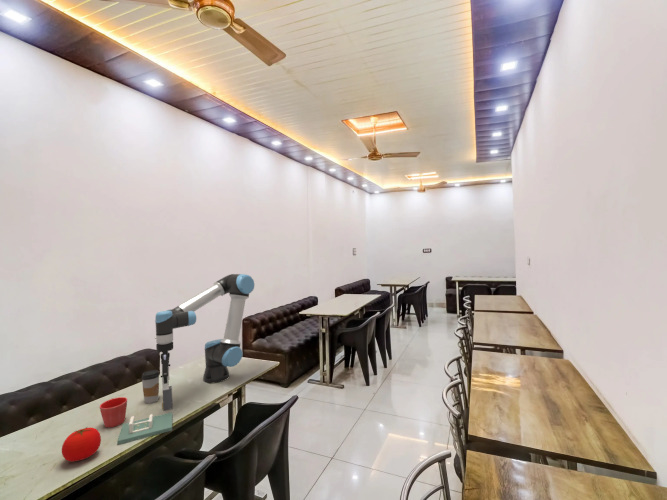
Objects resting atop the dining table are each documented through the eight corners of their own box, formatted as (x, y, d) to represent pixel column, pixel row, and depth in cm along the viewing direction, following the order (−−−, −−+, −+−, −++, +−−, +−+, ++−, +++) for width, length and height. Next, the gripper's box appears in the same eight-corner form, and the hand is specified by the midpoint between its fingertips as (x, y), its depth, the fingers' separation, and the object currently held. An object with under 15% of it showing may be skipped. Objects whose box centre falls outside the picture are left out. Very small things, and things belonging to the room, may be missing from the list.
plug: (172, 405, 164) (171, 385, 164) (172, 408, 160) (171, 388, 160) (162, 407, 162) (161, 387, 162) (162, 411, 158) (161, 390, 158)
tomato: (99, 444, 132) (98, 418, 132) (103, 457, 123) (101, 430, 123) (62, 457, 124) (60, 430, 124) (62, 472, 116) (61, 443, 116)
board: (172, 415, 153) (171, 403, 153) (172, 430, 140) (171, 417, 140) (122, 427, 145) (122, 415, 144) (117, 444, 131) (116, 431, 131)
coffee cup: (152, 405, 165) (151, 376, 165) (138, 404, 167) (137, 375, 167) (164, 397, 173) (162, 369, 173) (150, 396, 175) (149, 369, 175)
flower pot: (98, 432, 141) (97, 410, 141) (102, 421, 151) (101, 400, 151) (126, 425, 146) (125, 404, 146) (129, 414, 156) (128, 395, 156)
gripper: (157, 338, 170) (158, 377, 170) (154, 349, 148) (156, 395, 148) (173, 335, 174) (174, 375, 174) (172, 347, 151) (174, 392, 151)
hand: (166, 384), depth 161 cm, fingers open, 13 cm apart
